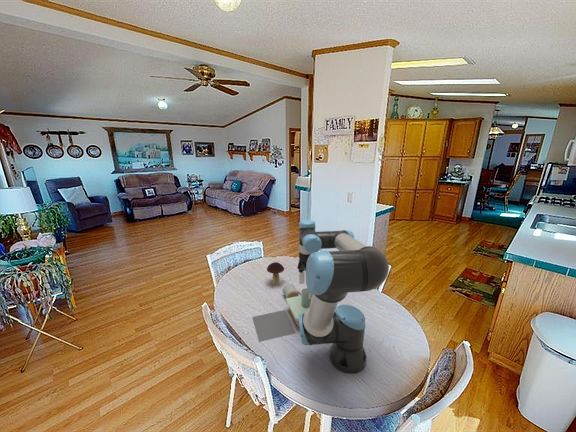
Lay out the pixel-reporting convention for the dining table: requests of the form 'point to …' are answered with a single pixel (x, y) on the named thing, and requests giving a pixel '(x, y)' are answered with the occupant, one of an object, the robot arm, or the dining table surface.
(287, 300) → the lid
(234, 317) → the dining table surface
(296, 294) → the ceramic mug
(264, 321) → the mat
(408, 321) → the dining table surface
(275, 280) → the decorative mushroom
